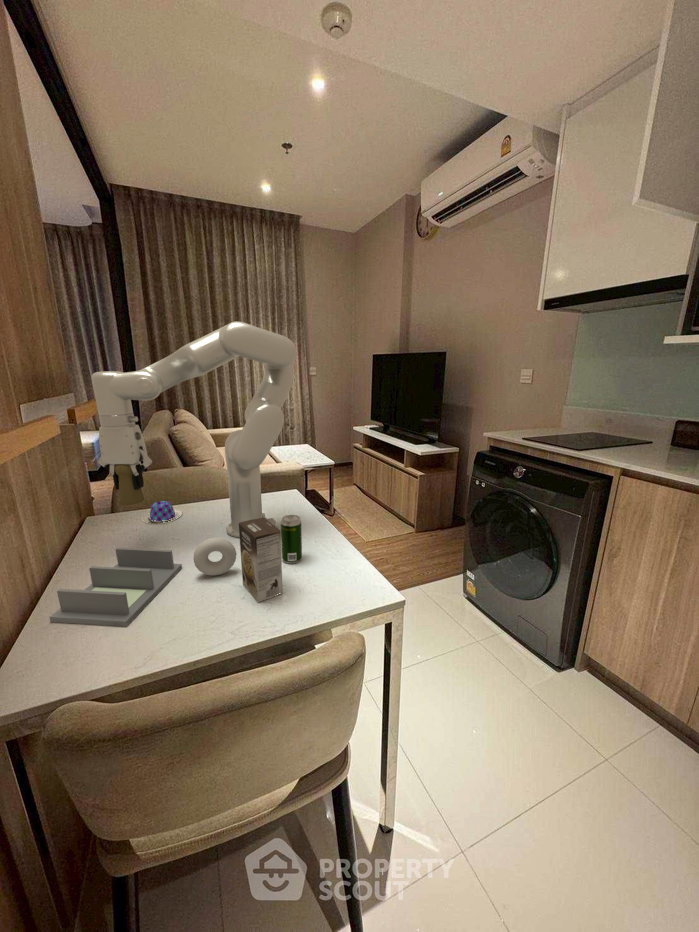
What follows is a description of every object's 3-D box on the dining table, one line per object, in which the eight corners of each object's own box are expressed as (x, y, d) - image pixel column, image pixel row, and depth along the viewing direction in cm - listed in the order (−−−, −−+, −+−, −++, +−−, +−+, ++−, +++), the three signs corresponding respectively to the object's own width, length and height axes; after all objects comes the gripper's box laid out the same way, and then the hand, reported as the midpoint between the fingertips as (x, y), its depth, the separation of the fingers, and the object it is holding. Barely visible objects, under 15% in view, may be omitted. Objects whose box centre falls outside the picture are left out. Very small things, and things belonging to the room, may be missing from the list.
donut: (195, 581, 89) (190, 544, 87) (195, 574, 92) (191, 537, 90) (238, 574, 92) (235, 538, 90) (237, 567, 96) (234, 532, 93)
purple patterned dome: (146, 513, 129) (144, 499, 128) (183, 509, 133) (182, 495, 132) (139, 527, 118) (137, 512, 117) (180, 523, 122) (179, 508, 121)
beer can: (304, 562, 99) (303, 521, 95) (283, 566, 97) (282, 523, 94) (299, 553, 103) (298, 513, 100) (280, 556, 102) (278, 515, 98)
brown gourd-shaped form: (133, 505, 98) (126, 466, 95) (113, 504, 99) (106, 464, 96) (149, 497, 103) (143, 459, 100) (131, 496, 105) (124, 458, 102)
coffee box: (241, 584, 88) (237, 522, 84) (266, 575, 92) (263, 515, 88) (257, 604, 82) (253, 537, 77) (283, 593, 85) (281, 529, 81)
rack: (182, 568, 95) (179, 546, 93) (126, 626, 74) (122, 600, 72) (122, 565, 96) (118, 543, 94) (50, 622, 75) (44, 596, 73)
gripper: (157, 418, 98) (167, 484, 103) (96, 418, 99) (109, 483, 104) (140, 423, 91) (152, 493, 96) (75, 423, 92) (90, 492, 97)
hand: (129, 487), depth 100 cm, fingers closed on brown gourd-shaped form, 4 cm apart
